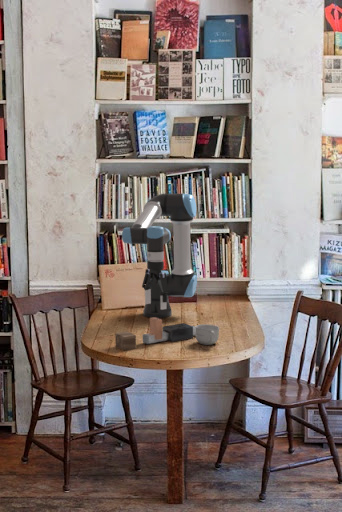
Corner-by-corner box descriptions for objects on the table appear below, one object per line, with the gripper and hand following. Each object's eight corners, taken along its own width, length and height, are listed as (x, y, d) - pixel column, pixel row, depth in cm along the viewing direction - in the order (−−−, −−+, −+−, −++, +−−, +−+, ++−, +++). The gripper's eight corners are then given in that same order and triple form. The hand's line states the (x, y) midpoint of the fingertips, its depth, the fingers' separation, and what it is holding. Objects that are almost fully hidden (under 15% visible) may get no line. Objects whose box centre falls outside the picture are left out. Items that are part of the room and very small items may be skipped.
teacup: (194, 340, 344) (194, 323, 343) (217, 339, 345) (217, 323, 344) (197, 348, 331) (198, 331, 329) (222, 348, 332) (222, 330, 330)
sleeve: (162, 338, 348) (162, 326, 347) (183, 334, 354) (183, 323, 354) (171, 342, 342) (171, 330, 341) (192, 338, 348) (192, 326, 347)
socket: (115, 346, 335) (115, 333, 334) (127, 344, 338) (126, 331, 337) (124, 350, 328) (124, 337, 327) (135, 348, 331) (135, 335, 330)
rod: (141, 341, 341) (141, 319, 339) (191, 332, 356) (191, 311, 354) (148, 344, 336) (148, 322, 334) (198, 335, 351) (198, 313, 349)
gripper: (134, 257, 344) (134, 302, 347) (163, 265, 323) (163, 312, 326) (148, 256, 348) (148, 300, 351) (177, 263, 327) (177, 310, 330)
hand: (155, 306), depth 339 cm, fingers open, 13 cm apart
